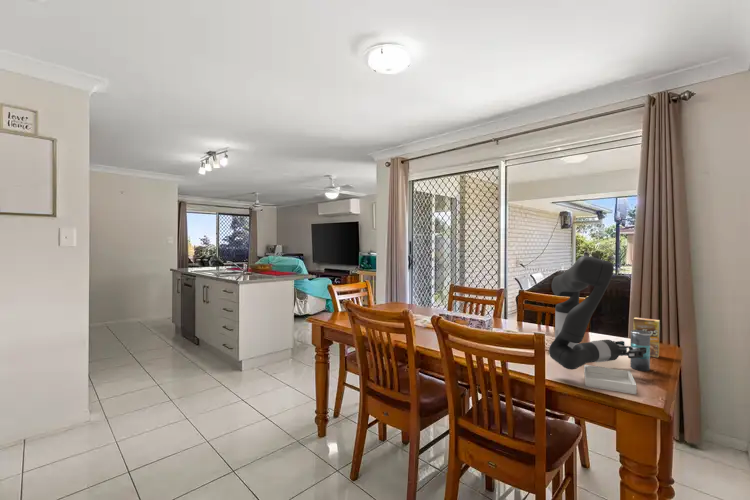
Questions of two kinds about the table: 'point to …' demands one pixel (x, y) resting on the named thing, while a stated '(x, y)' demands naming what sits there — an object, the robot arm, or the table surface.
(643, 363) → the tin
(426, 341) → the table surface
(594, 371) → the tray
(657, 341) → the candy box
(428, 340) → the table surface
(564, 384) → the table surface
